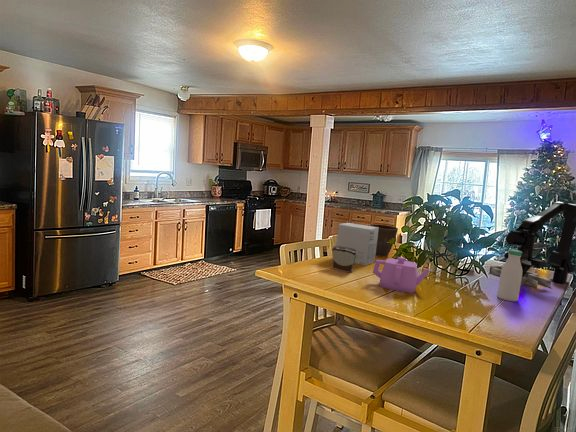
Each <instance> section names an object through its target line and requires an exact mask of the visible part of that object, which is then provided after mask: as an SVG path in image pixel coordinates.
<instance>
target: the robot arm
mask: <svg viewBox="0 0 576 432" xmlns="http://www.w3.org/2000/svg"><path fill="white" fill-rule="evenodd" d="M560 213H562V217H563V220H564V223H563V226H562V230H561V234H560V238H559V240H558V245H557V248H556V249H555V250H551V252H550V256H549V257H548V259H549V263H550V267H551V268H552V269H554V271H553V277H552V278H550V279H549V280H551V282H554V283H558V284H561V285H562V284H570V282H569V281H567V280H568V278H569V277H568V276H569V273H573V272H574V270H575V268H574V266H573V264H572V263H571V259H572V257H571V254H570V249H571V245H572V241H573V237H574V233H575V230H576V203H566V202H563V201H556V202H553V204H552V205H551V206H549V207H547V208H545V209H544V210H543V211H541V212H540V213H539V214H537V215H535V216H530V217H528V218H526V219H524V220H523V221H521V224H520V225H519V226H518V227H517V228H516V229H515V230H510V231H509V232H508V233H507V234H506V236H505V241H506V244H507V245H511V246H518V247H517V249H516V250H518V251H521V252H522V255H521V257H520V263H521V266H522V271H523V272H522V277H523V276H524V275H525V274H526V272H527V271H528V272H529V270H531V268H532V267H534V268H535V267H536V268H547V262H546V261H545V260H541V259H534V256H533V253H534V252H535V251H536V249H535V242H536V238H538V239H539V238H540V235H539V234H538V232H539V231H540V230H541V229H542V228H543V227H544V224H545V223H546V222H548V221H550V220H551V219H553V218H554V217H555V216H557V215H558V214H560ZM508 254H509V252H505V253H504V255H503V259H506V260H507V259H508V257H509V255H508Z"/></svg>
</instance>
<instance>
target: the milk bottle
mask: <svg viewBox="0 0 576 432" xmlns="http://www.w3.org/2000/svg"><path fill="white" fill-rule="evenodd" d="M508 253H509V254H508V255H509V257H508V259H506V261H505V262H504V263H505V264H504V265H503V264H502V266H503V267H502V270H501V274H500V276H499V280H498V285H497V287H498V288H497V292H496V293H497V294H496V296H497V298H499V299H501V300H504V301H508V302H518V300H519V296H520V293H521V292H520V290H521V286H522V285H521V280H522V272H523V271H522V266H521V263H520V257H521V255H522V252H521V251H518V250H517V249H509V250H508Z"/></svg>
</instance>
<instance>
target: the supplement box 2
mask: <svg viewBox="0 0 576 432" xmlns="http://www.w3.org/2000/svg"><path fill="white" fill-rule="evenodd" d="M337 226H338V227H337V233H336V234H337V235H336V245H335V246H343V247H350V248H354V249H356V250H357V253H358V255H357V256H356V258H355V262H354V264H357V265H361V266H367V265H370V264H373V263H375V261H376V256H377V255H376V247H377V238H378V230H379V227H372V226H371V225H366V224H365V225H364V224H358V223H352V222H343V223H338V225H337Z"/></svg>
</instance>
